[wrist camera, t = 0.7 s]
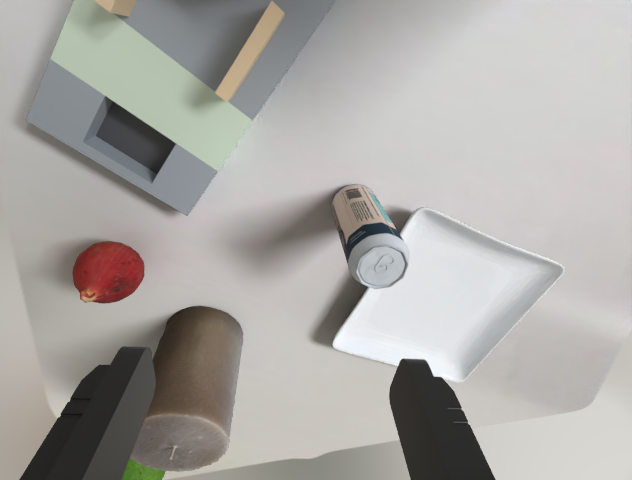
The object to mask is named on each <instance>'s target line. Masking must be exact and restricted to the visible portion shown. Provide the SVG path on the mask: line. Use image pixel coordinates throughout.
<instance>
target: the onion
mask: <svg viewBox="0 0 632 480" xmlns="http://www.w3.org/2000/svg"><path fill="white" fill-rule="evenodd" d="M143 277H144V263H143V260H142V259H141V257H140V255H139V254H138V253H137V252H136V251H135V250H133V249H132V248H131V247H129V246H127V245H124V244H122V243H118V242H111V241H110V242H102V243H98V244H94V245H92V246H91V247H89V248H88V249H86V250H85V251H84V252H82V253H81V254H80V255H79V256H78V258H77V260H76V262H75V265H74V268H73V280H74V285H75V287H76V288H77V289H78V291H79V292H80V299H81V300H83V301H84V302H92V301H93V302H97V303H111V302H117V301H120V300H122V299H124V298H126V297H127V296H129V295H131V294H132V293H133V292H134V291H135V290H136V289H137V288H138V286H139V285H140V283H141V282H142V280H143Z"/></svg>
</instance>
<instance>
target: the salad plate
mask: <svg viewBox="0 0 632 480" xmlns="http://www.w3.org/2000/svg"><path fill="white" fill-rule="evenodd" d="M400 236H401V237H402V239H403V240H404V242H405V243H406V245H407V246H408V249H409V252H410V260H409V265H408V268H407V271H406V273H405V276H404V278H403V279H401V280H400V281H399V282H397V283H396V284H395V285H393V286H392V287H389V288H382V289H373V288H370V287H368V288H367V289H366V291H365V292H364V294H363V296H362V297H361V299H360V300H359V302H358V303H357V305H356V306H355V308H354V309H353V311H352V312H351V313H350V315H349V316H348V318H347V319H346V320H345V322H344V323H343V324H342V326H341V327H340V329H339V330H338V332H337V333H336V335H335V337H334V339H333V341H332V346H333V348H334V349H336V350H339V351H342V352H346V353H349V354H353V355H357V356H360V357H364V358H368V359H372V360H376V361H379V362H383V363H387V364H390V365H394V366H398V365H399V363H400V360H401V359H403V358H404V359H424V360H426V361H427V362H428V364H429V366H430V369H431V371H432V373H433V376H434V377H442V378H443V379H445V380H448V381H452V382H457V383H461V382H463V381H465V380H466V379H467V378H468V377H469V375H470V374H471V373H472V372H473V371H474V370H475V369H476V368H477V367H478V366H479V365H480V364H481V362H482V361H483V360H484V359H485V358H486V357H487V356H488V355H489V354H490V353H491V352H492V351H493V349H494V348H495V347H496V346H497V345H498V344H499V343H500V342H501V341H502V340H503V339H504V338H505V336H506V335H507V334H508V333H509V332H510V331H511V330H512V329H513V328H514V327H515V325H516V324H517V323H518V322H519V321H520V320H521V319H522V318H523V317H524V316H525V315H526V314H527V313H528V311H529V310H530V309H531V308H532V307H533V306H534V305H535V304H536V303H537V302H538V301H539V300H540V299H541V298H542V297H543V296H544V295H545V294H546V292H547V291H548V290H549V289H550V288H551V287H552V286H553V285H554V284H555V283H556V282H557V281H558V279H559V278H560V277H561V276H562V275H563V273H564V271H565V268H564V266H563V265H561V264H560V263H558V262H556V261H554V260H551V259H549V258H546V257H544V256H541V255H538V254H535V253H532V252H530V251H527V250H524V249H521V248H519V247H516V246H514V245H511V244H509V243H506V242H504V241H501V240H499V239H497V238H494V237H492V236H490V235H488V234H485V233H483V232H481V231H479V230H476V229H474V228H472V227H470V226H468V225H466V224H464V223H462V222H460V221H458V220H456V219H454V218H452V217H450V216H448V215H446V214H443V213H441V212H439V211H437V210H434V209H431V208H428V207H421V208H419V209H417V210H415V211H414V212H413V213H412V214H411V216H410V217H409V219H408V220H407V222H406V224H405V225H404V227H403V228H402V230H401V232H400Z"/></svg>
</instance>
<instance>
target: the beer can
mask: <svg viewBox="0 0 632 480" xmlns="http://www.w3.org/2000/svg"><path fill="white" fill-rule="evenodd" d="M332 213H333V216H334V220H335V223H336V226H337V230H338V233H339V236H340V240H341V243H342V246H343V250H344V253H345V256H346V260H347V263H348V267H349V270H350V273H351V275H352V276H353V277H354V278H355V279H356V280H357V281H358V282H360V283H361V284H363V285H365V286H368V287H370V288H373V289H382V288H389V287H392V286H393V285H395V284H396V283H397V282H399V281H400V280H401V279H403V278H404V276H405V273H406V271H407V268H408V265H409V260H410V252H409V249H408V246H407V245H406V243H405V242H404V240H403V239H402V237H401V236H400V234H399V232H398V231H397V229H396V228H395V226H394V224H393V223H392V221H391V220H390V218H389V217H388V215H387V213H386V212H385V210H384V209H383V207H382V206H381V204H380V202H379V201H378V199H377V198H376V196H375V194H374V193H373V191H372V190H371V189H369V188H368V187H366V186H364V185H360V184H353V185H348V186H346V187H344V188H342V189H341V190H340V191H339V192H338V193H337V194H336V195H335V197H334V199H333V201H332Z"/></svg>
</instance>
